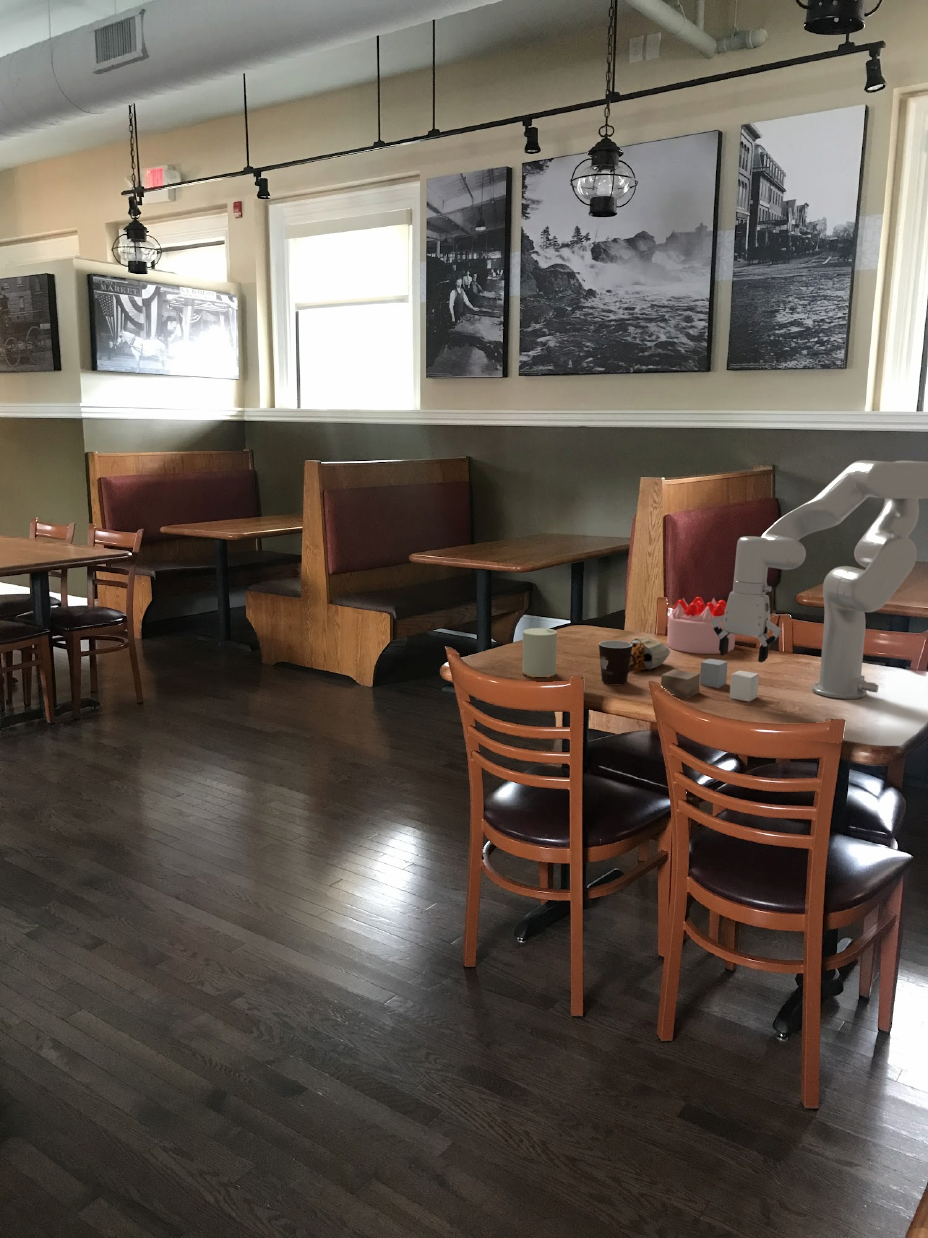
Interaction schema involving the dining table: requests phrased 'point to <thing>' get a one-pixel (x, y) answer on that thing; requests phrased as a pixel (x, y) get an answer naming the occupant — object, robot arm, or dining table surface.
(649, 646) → the nautilus
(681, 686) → the metal block
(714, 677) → the grey block
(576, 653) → the dining table surface
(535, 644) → the can
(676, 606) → the cake
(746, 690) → the ceramic block
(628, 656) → the coffee mug
